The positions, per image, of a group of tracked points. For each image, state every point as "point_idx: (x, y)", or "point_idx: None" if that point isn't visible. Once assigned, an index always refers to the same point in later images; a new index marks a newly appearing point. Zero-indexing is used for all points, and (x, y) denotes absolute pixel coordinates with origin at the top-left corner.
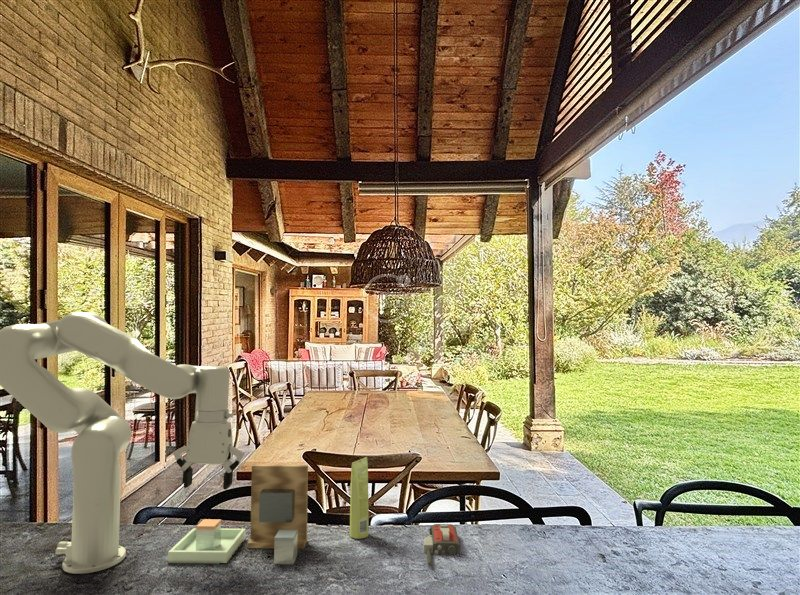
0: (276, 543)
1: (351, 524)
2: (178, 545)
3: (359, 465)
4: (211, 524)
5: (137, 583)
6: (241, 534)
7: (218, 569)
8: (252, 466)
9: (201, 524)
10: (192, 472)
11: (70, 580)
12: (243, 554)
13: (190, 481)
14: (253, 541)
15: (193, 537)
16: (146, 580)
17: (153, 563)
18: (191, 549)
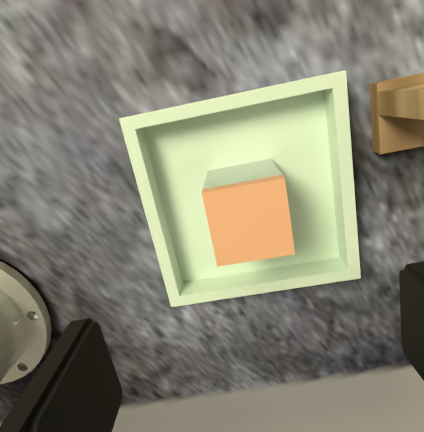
0: None
1: None
2: (170, 262)
3: None
4: (271, 238)
5: (177, 381)
6: (349, 127)
7: (340, 293)
8: None
9: (227, 246)
10: (54, 396)
11: (18, 393)
12: (377, 197)
13: (95, 364)
14: (399, 135)
15: (145, 140)
16: (188, 367)
17: (138, 297)
18: (195, 217)
